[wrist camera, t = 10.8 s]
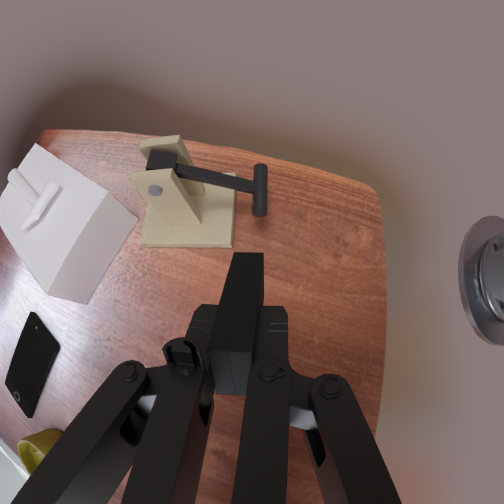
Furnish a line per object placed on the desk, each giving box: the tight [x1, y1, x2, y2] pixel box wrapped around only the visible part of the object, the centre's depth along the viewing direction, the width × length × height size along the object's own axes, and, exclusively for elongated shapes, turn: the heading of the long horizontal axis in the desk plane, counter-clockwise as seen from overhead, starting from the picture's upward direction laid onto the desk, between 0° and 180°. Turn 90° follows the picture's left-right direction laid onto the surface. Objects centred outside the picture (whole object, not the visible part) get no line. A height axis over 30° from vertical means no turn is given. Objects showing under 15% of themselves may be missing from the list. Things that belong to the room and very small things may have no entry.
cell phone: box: [5, 312, 60, 418], centre depth 31 cm, size 9×18×1 cm, turn 147°
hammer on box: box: [0, 143, 139, 304], centre depth 33 cm, size 14×25×11 cm, turn 58°
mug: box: [17, 429, 63, 476], centre depth 23 cm, size 12×10×10 cm
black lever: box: [146, 149, 268, 217], centre depth 28 cm, size 13×6×2 cm, turn 88°
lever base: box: [129, 135, 237, 248], centre depth 30 cm, size 12×10×13 cm
